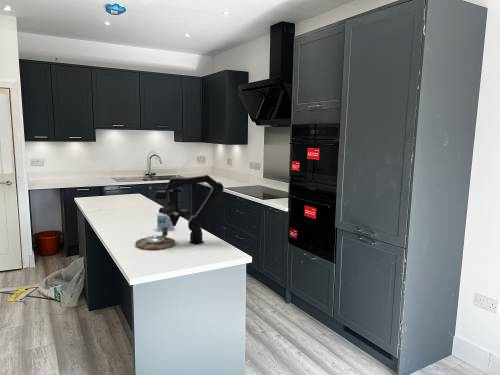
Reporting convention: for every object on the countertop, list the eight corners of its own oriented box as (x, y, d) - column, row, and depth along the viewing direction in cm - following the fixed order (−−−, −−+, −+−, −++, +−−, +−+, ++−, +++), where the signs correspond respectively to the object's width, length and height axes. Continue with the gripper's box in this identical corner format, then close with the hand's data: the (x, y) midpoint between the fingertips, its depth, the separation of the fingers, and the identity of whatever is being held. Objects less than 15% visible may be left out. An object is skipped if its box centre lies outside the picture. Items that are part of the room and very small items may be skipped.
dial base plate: (182, 243, 221) (182, 240, 220) (156, 252, 201) (156, 249, 201) (154, 237, 231) (154, 234, 231) (126, 246, 212) (126, 243, 212)
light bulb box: (157, 231, 244) (157, 215, 242) (157, 229, 250) (157, 213, 249) (174, 230, 247) (174, 214, 245) (173, 228, 253) (173, 212, 252)
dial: (156, 245, 209) (155, 233, 208) (142, 242, 214) (142, 230, 213) (173, 238, 222) (173, 228, 221) (160, 236, 227) (160, 225, 226)
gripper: (151, 199, 214) (152, 226, 216) (177, 203, 205) (178, 231, 207) (165, 197, 223) (165, 222, 226) (190, 200, 214) (190, 227, 217)
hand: (174, 226), depth 218 cm, fingers closed
